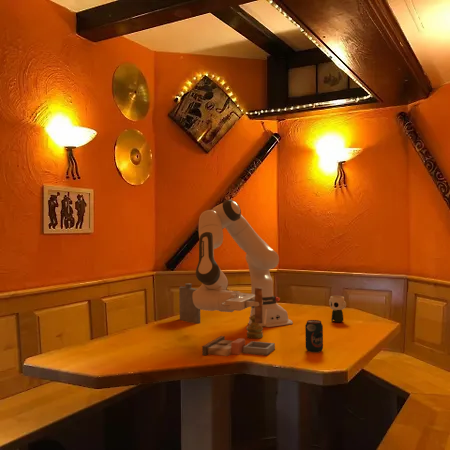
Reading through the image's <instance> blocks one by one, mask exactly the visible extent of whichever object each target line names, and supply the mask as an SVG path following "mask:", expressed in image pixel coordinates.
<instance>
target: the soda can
mask: <svg viewBox="0 0 450 450" xmlns="http://www.w3.org/2000/svg"><path fill="white" fill-rule="evenodd" d="M323 326H324V325H323V324H322V321H321V320H319V319H308V320H306V323H305V326H304V327H305V328H304V329H305V332H304V334H305V349H306V351H307V352H309V353H316V354H319V353H321V352H322V351H323V349H324V327H323Z"/></svg>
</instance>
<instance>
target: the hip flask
mask: <svg viewBox="0 0 450 450" xmlns="http://www.w3.org/2000/svg"><path fill="white" fill-rule="evenodd" d="M192 285H193V283H190V282H189V283H184V286H179V289H178V291H179V293H178V294H179V321H182V322H186V323H190V324H201V309H198V308H196V307H195V305H194V304H193V300H192V295H193V292H194V291H195V290H197V289H198V288H194V287H192Z"/></svg>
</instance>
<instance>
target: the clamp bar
mask: <svg viewBox="0 0 450 450" xmlns="http://www.w3.org/2000/svg"><path fill="white" fill-rule="evenodd" d="M221 340H226V339H225V336H224V335H220V336H219V337H217V338H214V339H212V340H210V341H209V342H207V343H205V344H203V345H202V346H201V347H202V349H201V350H202V356H207V355H209V354H208V348H209V347H211V346H212V345H214V344H216V343H218V342H220V341H221Z"/></svg>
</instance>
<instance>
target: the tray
mask: <svg viewBox="0 0 450 450" xmlns="http://www.w3.org/2000/svg"><path fill="white" fill-rule="evenodd" d="M275 344H276V343H274V342H266V341H265V342H264V341H253V340H252V341H250V342H248V343H247V344H245V346H244V347H243V352H242V353H243V354H249V355H250V354H251V355H257V356H258V355H259V356H269V355H270V354H271V353H272V352H273V351H274V350H275V349H276V345H275Z"/></svg>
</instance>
